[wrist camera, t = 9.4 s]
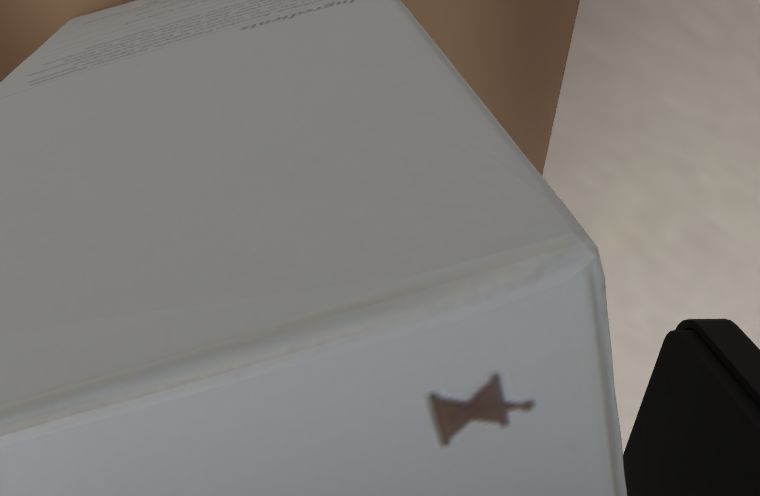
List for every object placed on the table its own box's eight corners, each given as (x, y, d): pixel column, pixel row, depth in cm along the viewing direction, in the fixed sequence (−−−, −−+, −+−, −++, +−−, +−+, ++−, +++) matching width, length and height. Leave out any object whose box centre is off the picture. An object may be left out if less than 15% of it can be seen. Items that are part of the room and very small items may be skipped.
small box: (64, 15, 15) (-616, 577, 3) (357, -68, 15) (640, 222, 3) (206, 317, 19) (108, 1017, 8) (435, 252, 19) (677, 860, 8)
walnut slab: (544, -154, 18) (611, -151, 15) (466, 299, 25) (499, 372, 22) (-50, -212, 16) (-136, -225, 12) (46, 306, 23) (9, 389, 19)
